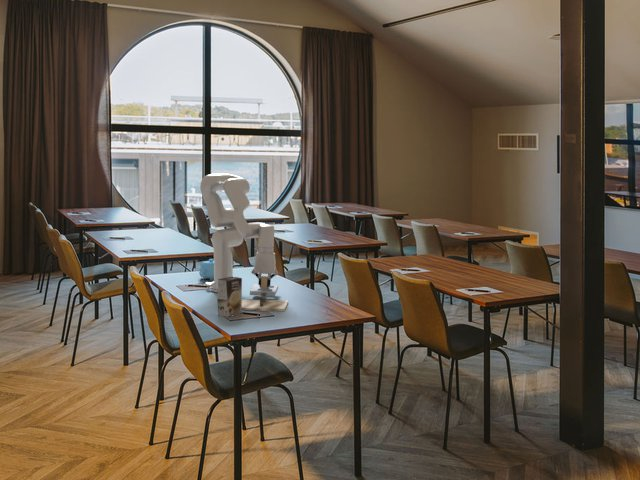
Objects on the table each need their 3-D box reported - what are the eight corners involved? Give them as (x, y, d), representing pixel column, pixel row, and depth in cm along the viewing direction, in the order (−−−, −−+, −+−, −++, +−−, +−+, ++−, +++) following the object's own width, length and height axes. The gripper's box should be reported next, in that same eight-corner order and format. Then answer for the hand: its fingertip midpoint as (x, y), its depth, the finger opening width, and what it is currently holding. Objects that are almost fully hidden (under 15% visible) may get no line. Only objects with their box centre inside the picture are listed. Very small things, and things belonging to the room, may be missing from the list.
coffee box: (228, 317, 304) (228, 280, 302) (217, 315, 307) (217, 279, 305) (242, 313, 311) (242, 277, 309) (231, 311, 315) (231, 276, 313)
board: (236, 310, 317) (236, 298, 316) (241, 302, 335) (241, 290, 334) (284, 311, 316) (284, 299, 316) (287, 302, 334) (288, 291, 334)
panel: (249, 295, 337) (250, 278, 336) (254, 287, 353) (254, 272, 352) (274, 296, 337) (275, 280, 336) (277, 289, 353) (278, 273, 352)
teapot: (224, 281, 389) (224, 260, 387) (199, 281, 386) (199, 261, 385) (223, 276, 403) (223, 256, 402) (198, 276, 401) (198, 257, 400)
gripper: (247, 250, 338) (246, 287, 341) (281, 252, 338) (280, 289, 341) (250, 247, 346) (248, 284, 349) (283, 249, 345) (281, 286, 348)
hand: (264, 286), depth 345 cm, fingers closed on panel, 3 cm apart
